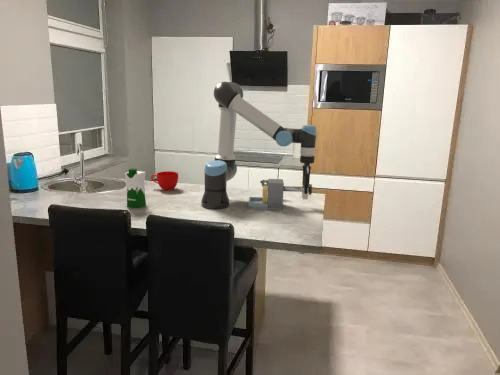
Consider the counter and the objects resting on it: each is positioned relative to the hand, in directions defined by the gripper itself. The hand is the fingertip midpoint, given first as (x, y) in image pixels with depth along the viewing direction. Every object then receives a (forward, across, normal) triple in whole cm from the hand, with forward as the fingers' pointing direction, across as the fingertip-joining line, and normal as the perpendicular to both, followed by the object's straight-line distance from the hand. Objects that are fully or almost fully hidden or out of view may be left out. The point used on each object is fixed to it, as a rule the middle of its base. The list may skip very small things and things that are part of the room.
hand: (304, 198), depth 215 cm
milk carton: (+5, -8, +89) cm, 89 cm away
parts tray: (+5, 0, +25) cm, 25 cm away
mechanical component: (+5, +18, +19) cm, 27 cm away
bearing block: (+5, 0, +16) cm, 17 cm away
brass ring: (-1, 0, +22) cm, 22 cm away
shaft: (-2, 0, +7) cm, 8 cm away
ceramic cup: (+5, +29, +83) cm, 88 cm away
